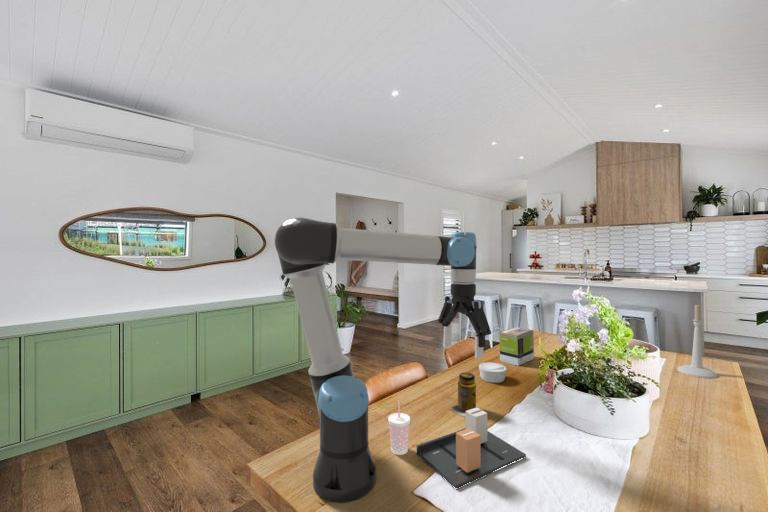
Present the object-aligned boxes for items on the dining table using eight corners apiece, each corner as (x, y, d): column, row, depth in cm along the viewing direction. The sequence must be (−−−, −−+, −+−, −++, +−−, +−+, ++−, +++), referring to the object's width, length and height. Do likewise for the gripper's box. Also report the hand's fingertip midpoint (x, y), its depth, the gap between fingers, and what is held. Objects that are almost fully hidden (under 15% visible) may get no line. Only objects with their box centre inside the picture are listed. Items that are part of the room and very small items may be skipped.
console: (455, 489, 81) (455, 479, 81) (416, 454, 95) (416, 445, 95) (525, 458, 93) (525, 449, 93) (481, 430, 107) (481, 422, 107)
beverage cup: (392, 442, 101) (392, 394, 101) (413, 446, 99) (412, 397, 99) (385, 453, 96) (384, 403, 95) (406, 458, 93) (406, 406, 93)
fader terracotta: (467, 472, 85) (467, 439, 85) (456, 464, 88) (455, 432, 88) (480, 467, 87) (480, 434, 87) (469, 458, 91) (469, 427, 90)
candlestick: (724, 379, 145) (725, 307, 144) (686, 376, 149) (687, 305, 148) (706, 369, 157) (707, 302, 156) (671, 366, 161) (672, 301, 160)
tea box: (515, 354, 180) (515, 326, 180) (534, 359, 172) (534, 329, 172) (499, 361, 170) (499, 330, 170) (518, 366, 163) (518, 334, 162)
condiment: (481, 410, 120) (481, 375, 120) (463, 417, 115) (463, 381, 115) (465, 402, 126) (465, 369, 126) (448, 408, 122) (448, 374, 121)
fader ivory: (475, 445, 96) (475, 416, 96) (465, 438, 100) (465, 410, 100) (487, 441, 99) (487, 412, 98) (477, 434, 102) (477, 407, 102)
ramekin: (503, 386, 140) (503, 373, 140) (475, 381, 146) (475, 368, 146) (509, 377, 150) (509, 365, 150) (483, 372, 156) (483, 360, 156)
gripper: (504, 286, 99) (503, 360, 99) (445, 278, 120) (444, 340, 121) (486, 287, 95) (484, 365, 95) (427, 279, 116) (427, 343, 117)
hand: (462, 351), depth 108 cm, fingers open, 13 cm apart
